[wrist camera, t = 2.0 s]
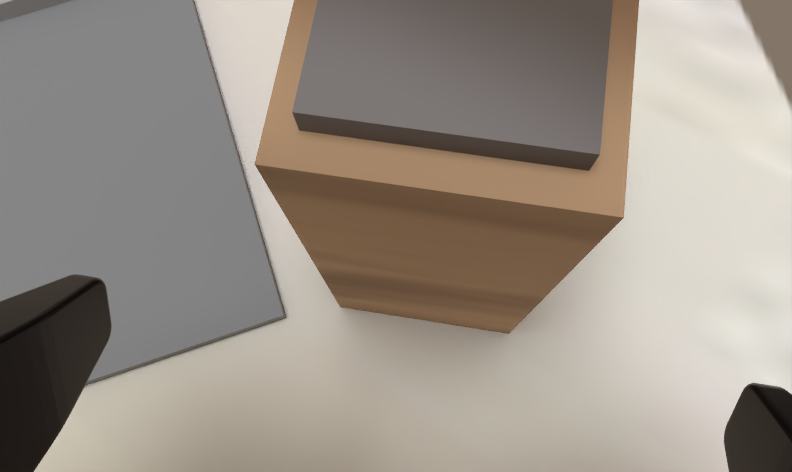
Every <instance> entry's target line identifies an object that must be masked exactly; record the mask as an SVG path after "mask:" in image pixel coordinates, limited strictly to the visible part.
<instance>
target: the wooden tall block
mask: <svg viewBox="0 0 792 472" xmlns="http://www.w3.org/2000/svg"><path fill="white" fill-rule="evenodd" d="M638 7H639V0H294V3H293V8H292V12H291V16H290V20H289V24H288V28H287V33H286V37H285V41H284V45H283V49H282V53H281V57H280V62H279V66H278V70H277V74H276V78H275V82H274V86H273V91H272V95H271V99H270V103H269V107H268V111H267V116H266V120H265V124H264V128H263V132H262V136H261V140H260V145H259V149H258V153H257V157H256V161H255V166H256V167H257V169H258V171H259V172H260V174H261V176H262V177H263V179H264V181H265V182H266V184H267V186H268V187H269V189H270V191H271V192H272V194H273V196H274V197H275V199H276V201H277V202H278V204H279V206H280V207H281V209H282V211H283V212H284V214H285V216H286V217H287V219H288V221H289V222H290V224H291V225H292V227H293V229H294V230H295V232H296V234H297V235H298V237H299V239H300V240H301V242H302V244H303V245H304V247H305V249H306V250H307V252H308V254H309V255H310V257H311V259H312V260H313V262H314V264H315V265H316V267H317V269H318V270H319V272H320V274H321V275H322V277H323V279H324V280H325V282H326V284H327V285H328V287H329V289H330V290H331V292H332V294H333V295H334V297H335V299H336V300H337V302H338V304H339V305H340V307H345V308H351V309H357V310H363V311H370V312H376V313H382V314H389V315H395V316H401V317H408V318H414V319H420V320H426V321H433V322H439V323H445V324H452V325H458V326H464V327H471V328H477V329H483V330H489V331H496V332H502V333H508V334H509V333H510V332H511V331H512V330H513V329H514V328H515V327H516V326H517V325H518V324H519V323H520V322H521V321H522V320H523V319H524V318H525V317H526V316H527V315H528V314H529V313H530V312H531V311H532V310H533V308H534V307H535V306H536V305H537V304H538V303H539V302H540V301H541V300H542V299H543V298H544V297H545V296H546V295H547V294H548V293H549V292H550V291H551V290H552V289H553V288H554V287H555V286H556V285H557V284H558V283H559V282H560V281H561V280H562V279H563V278H564V277H565V276H566V275H567V274H568V273H569V272H570V271H571V270H572V269H573V268H574V267H575V266H576V265H577V264H578V263H579V262H580V261H581V260H582V259H583V258H584V257H585V256H586V255H587V254H588V253H589V252H590V251H591V250H592V249H593V248H594V247H595V246H596V245H597V244H598V243H599V242H600V241H601V240H602V239H603V238H604V237H605V236H606V235H607V234H608V233H609V232H610V231H611V230H612V229H613V228H614V227H615V226H616V225H617V224H618V223H619V222H620V221H621V220H622V219H623V218H624V205H625V191H626V177H627V163H628V148H629V134H630V120H631V106H632V92H633V78H634V63H635V49H636V35H637V21H638Z"/></svg>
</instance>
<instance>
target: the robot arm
mask: <svg viewBox="0 0 792 472" xmlns="http://www.w3.org/2000/svg"><path fill="white" fill-rule="evenodd" d="M111 328H112V323H111V316H110V309H109V302H108V295H107V289H106V285H105V283H104V281H103V280H101V279H100V278H97V277H91V276H85V275H78V274H73V275H69V276H67V277H64V278H61V279H59V280H56V281H53V282H51V283H48V284H45V285H43V286H40V287H37V288H35V289H32V290H29V291H26V292H24V293H21V294H18V295H16V296H13V297H10V298H8V299H5V300H2V301H0V472H34V470H35V469H36V467H37V466H38V464H39V463H40V461H41V460H42V458H43V457H44V455H45V454H46V452H47V451H48V449H49V448H50V446H51V445H52V443H53V442H54V440H55V439H56V437H57V436H58V434H59V432H60V431H61V429H62V427H63V426H64V424H65V422H66V420H67V419H68V417H69V415H70V413H71V411H72V409H73V408H74V406H75V404H76V402H77V400H78V398H79V396H80V394H81V392H82V390H83V388H84V387H85V385H86V383H87V381H88V379H89V377H90V375H91V373H92V371H93V369H94V368H95V366H96V364H97V362H98V360H99V358H100V356H101V354H102V352H103V350H104V348H105V347H106V345H107V343H108V340H109V338H110V335H111ZM724 445H725V451H726V457H727V463H728V468H729V472H792V394H790V393H789V392H788V391H786V390H785V389H783V388H781V387H777V386H770V385H764V384H758V383H752V384H749V385H747V386H746V387H745V388H744V390H743V391H742V393H741V396H740V398H739V400H738V402H737V404H736V406H735V408H734V410H733V413H732V415H731V417H730V419H729V421H728V423H727V426H726V429H725V433H724Z"/></svg>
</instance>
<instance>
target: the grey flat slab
mask: <svg viewBox="0 0 792 472" xmlns="http://www.w3.org/2000/svg"><path fill="white" fill-rule="evenodd" d="M73 274H78V275H85V276H91V277H97V278H100V279H101V280H103V281H104V283H105V285H106V289H107V295H108V302H109V309H110V316H111V323H112V328H111V335H110V338H109V340H108V343H107V345H106V347H105V348H104V350H103V352H102V354H101V356H100V358H99V360H98V362H97V364H96V366H95V368H94V369H93V371H92V373H91V375H90V377H89V379H88V381H87V383H86V385H87V384H90V383H93V382H96V381H99V380H102V379H105V378H108V377H111V376H114V375H117V374H120V373H123V372H126V371H129V370H131V369H134V368H137V367H140V366H143V365H146V364H149V363H152V362H155V361H158V360H161V359H164V358H167V357H170V356H173V355H176V354H179V353H182V352H185V351H188V350H191V349H194V348H197V347H200V346H203V345H206V344H209V343H212V342H215V341H218V340H221V339H223V338H226V337H229V336H232V335H235V334H238V333H241V332H244V331H247V330H250V329H253V328H256V327H259V326H262V325H265V324H268V323H271V322H274V321H277V320H280V319H283V318H286V315H285V312H284V309H283V305H282V302H281V298H280V295H279V291H278V288H277V284H276V281H275V278H274V274H273V271H272V267H271V264H270V260H269V257H268V254H267V250H266V247H265V243H264V240H263V236H262V233H261V230H260V226H259V223H258V219H257V216H256V212H255V209H254V206H253V202H252V199H251V195H250V192H249V188H248V185H247V182H246V178H245V175H244V171H243V168H242V164H241V161H240V158H239V154H238V151H237V147H236V144H235V140H234V137H233V133H232V130H231V127H230V123H229V120H228V116H227V113H226V109H225V106H224V103H223V99H222V96H221V92H220V89H219V85H218V82H217V79H216V75H215V72H214V68H213V65H212V61H211V58H210V55H209V51H208V48H207V44H206V41H205V37H204V34H203V31H202V27H201V24H200V20H199V17H198V13H197V10H196V7H195V3H194V0H0V301H2V300H5V299H8V298H10V297H13V296H16V295H18V294H21V293H24V292H26V291H29V290H32V289H35V288H37V287H40V286H43V285H45V284H48V283H51V282H53V281H56V280H59V279H61V278H64V277H67V276H69V275H73Z"/></svg>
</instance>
